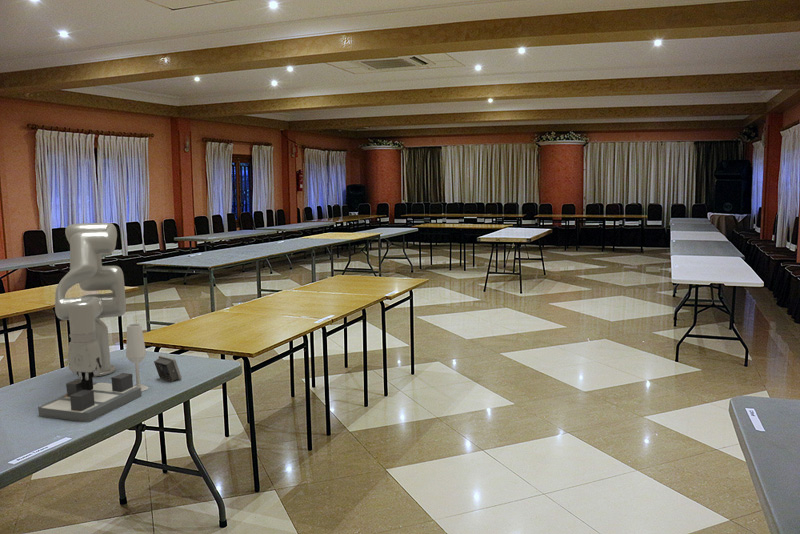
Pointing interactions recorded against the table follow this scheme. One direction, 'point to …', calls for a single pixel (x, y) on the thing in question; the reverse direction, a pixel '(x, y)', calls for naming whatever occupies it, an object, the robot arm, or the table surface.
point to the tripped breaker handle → (74, 387)
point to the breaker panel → (94, 410)
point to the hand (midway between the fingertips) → (87, 390)
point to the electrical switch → (167, 368)
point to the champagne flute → (136, 349)
